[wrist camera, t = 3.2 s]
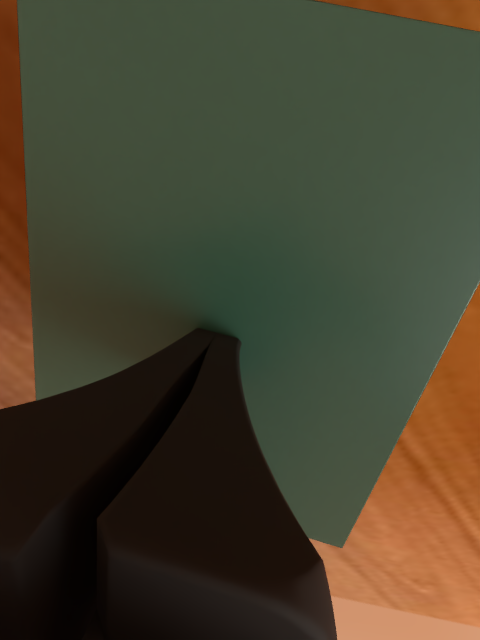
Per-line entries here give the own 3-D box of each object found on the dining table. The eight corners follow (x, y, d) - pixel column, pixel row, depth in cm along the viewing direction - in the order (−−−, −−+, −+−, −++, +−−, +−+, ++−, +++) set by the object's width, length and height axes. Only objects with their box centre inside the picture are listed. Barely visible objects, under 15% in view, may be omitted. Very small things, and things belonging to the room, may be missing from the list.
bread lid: (340, 528, 13) (342, 549, 12) (51, 441, 14) (38, 455, 13) (569, 65, 7) (599, 52, 6) (39, -38, 8) (13, -58, 7)
